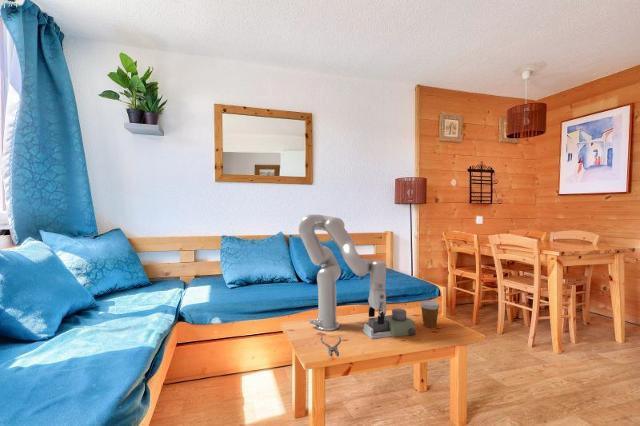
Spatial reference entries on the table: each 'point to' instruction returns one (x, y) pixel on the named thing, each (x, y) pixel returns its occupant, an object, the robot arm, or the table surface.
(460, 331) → the table surface
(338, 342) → the pliers
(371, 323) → the dark grey block
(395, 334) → the knobbed sage block
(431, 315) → the disposable coffee cup
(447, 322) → the table surface
